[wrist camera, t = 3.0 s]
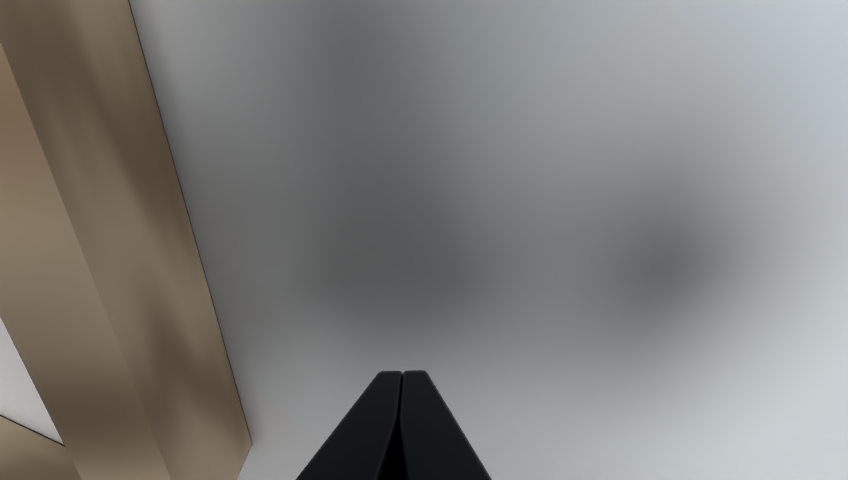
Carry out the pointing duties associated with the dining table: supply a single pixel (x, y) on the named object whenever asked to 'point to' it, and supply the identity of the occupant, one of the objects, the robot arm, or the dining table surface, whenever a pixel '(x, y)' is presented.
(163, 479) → the tongs jaw
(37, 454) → the tongs fixed arm
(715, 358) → the dining table surface
